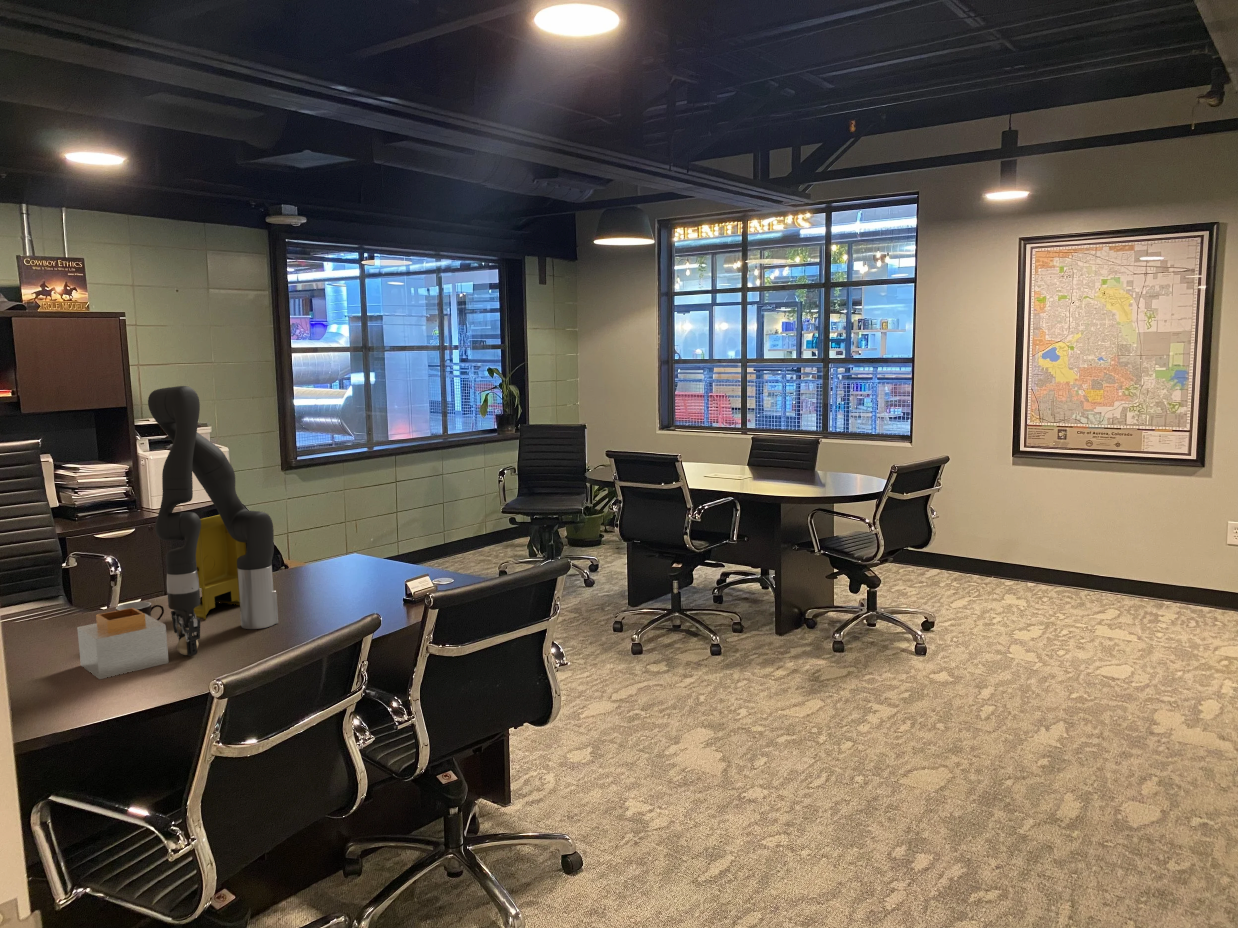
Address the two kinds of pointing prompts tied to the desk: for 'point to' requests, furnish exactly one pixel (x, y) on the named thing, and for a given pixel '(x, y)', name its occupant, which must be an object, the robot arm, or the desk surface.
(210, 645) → the desk surface
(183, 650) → the wooden ball
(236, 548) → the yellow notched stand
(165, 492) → the robot arm
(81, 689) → the desk surface
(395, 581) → the desk surface
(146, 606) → the coffee mug
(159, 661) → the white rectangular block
